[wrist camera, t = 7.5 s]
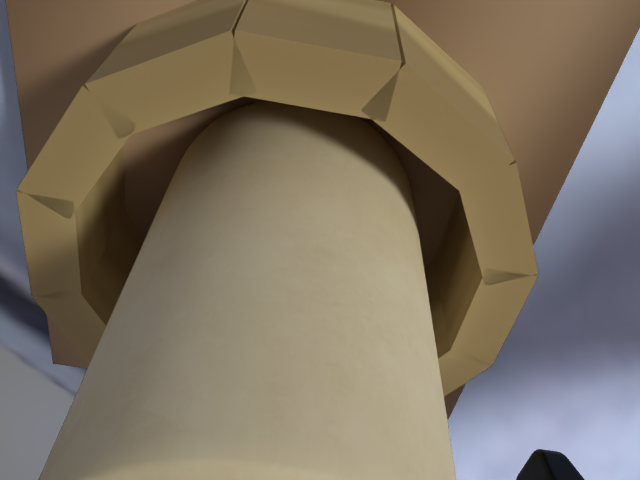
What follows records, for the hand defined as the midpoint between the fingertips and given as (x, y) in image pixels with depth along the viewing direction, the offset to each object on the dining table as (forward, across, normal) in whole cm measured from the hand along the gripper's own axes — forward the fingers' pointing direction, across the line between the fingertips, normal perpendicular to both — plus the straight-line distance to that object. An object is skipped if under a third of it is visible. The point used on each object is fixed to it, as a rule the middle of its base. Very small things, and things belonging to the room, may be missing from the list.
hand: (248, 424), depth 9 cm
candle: (+6, 0, 0) cm, 6 cm away
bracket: (+7, 0, 0) cm, 7 cm away
